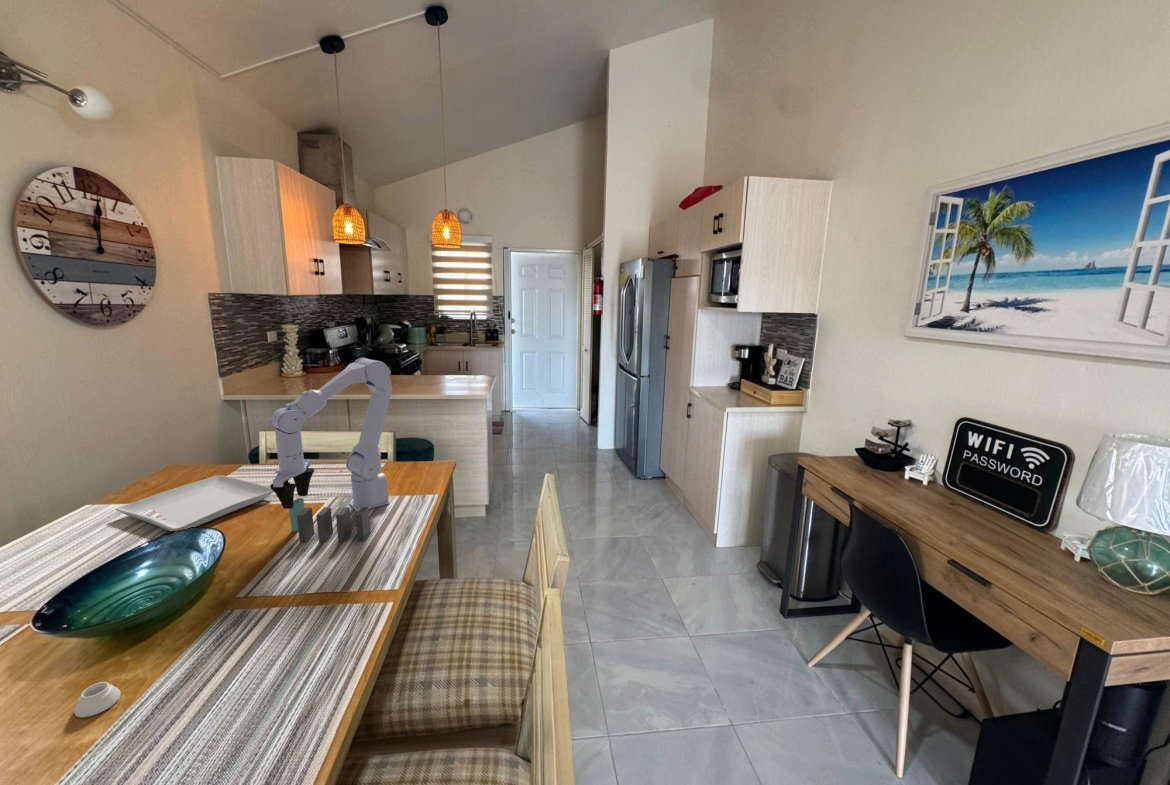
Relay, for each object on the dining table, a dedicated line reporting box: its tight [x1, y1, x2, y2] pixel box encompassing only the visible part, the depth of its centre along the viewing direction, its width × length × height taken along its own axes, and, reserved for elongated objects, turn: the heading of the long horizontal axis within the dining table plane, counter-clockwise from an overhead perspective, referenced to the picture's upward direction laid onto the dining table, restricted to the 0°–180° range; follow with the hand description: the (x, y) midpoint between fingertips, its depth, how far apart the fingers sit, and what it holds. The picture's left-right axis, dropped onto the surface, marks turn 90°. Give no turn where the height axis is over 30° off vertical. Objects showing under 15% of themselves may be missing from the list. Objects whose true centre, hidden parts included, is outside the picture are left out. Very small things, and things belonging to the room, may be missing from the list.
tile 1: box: [355, 507, 371, 542], centre depth 124 cm, size 2×4×8 cm, turn 4°
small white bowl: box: [73, 681, 122, 718], centre depth 74 cm, size 5×3×5 cm
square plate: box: [115, 474, 275, 532], centre depth 139 cm, size 27×27×4 cm
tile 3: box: [316, 506, 334, 543], centre depth 123 cm, size 2×4×8 cm, turn 4°
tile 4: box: [297, 507, 315, 543], centre depth 123 cm, size 2×4×8 cm, turn 4°
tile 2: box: [335, 506, 353, 543], centre depth 124 cm, size 2×4×8 cm, turn 4°
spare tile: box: [288, 497, 305, 532], centre depth 128 cm, size 2×4×8 cm, turn 4°
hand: (295, 501), depth 128 cm, fingers open, 7 cm apart
